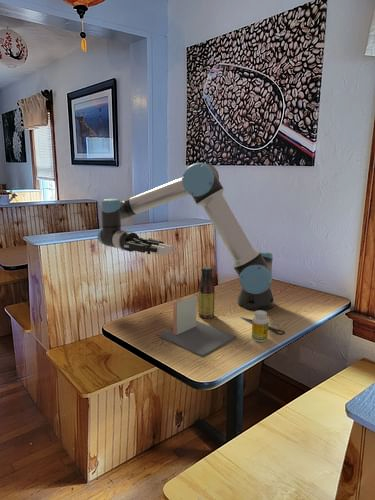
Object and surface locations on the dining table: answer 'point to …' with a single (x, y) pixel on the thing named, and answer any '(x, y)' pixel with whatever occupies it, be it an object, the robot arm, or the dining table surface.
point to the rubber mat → (199, 338)
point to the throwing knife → (268, 327)
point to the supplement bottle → (260, 326)
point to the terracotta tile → (184, 314)
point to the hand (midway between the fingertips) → (168, 250)
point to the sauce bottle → (206, 294)
